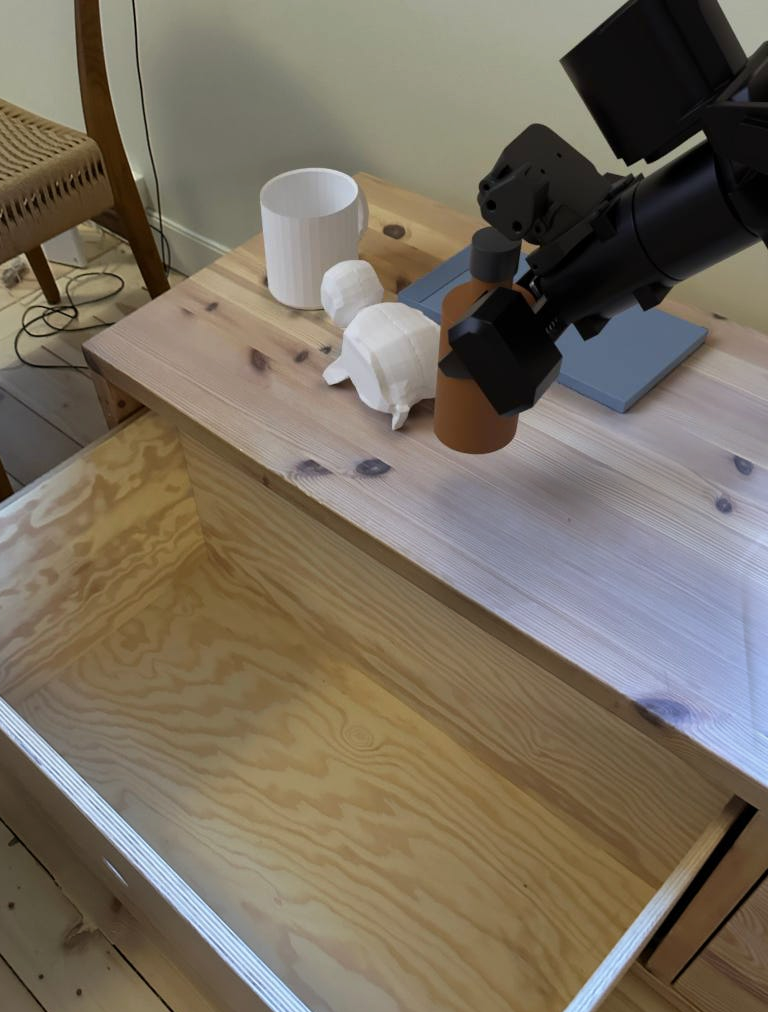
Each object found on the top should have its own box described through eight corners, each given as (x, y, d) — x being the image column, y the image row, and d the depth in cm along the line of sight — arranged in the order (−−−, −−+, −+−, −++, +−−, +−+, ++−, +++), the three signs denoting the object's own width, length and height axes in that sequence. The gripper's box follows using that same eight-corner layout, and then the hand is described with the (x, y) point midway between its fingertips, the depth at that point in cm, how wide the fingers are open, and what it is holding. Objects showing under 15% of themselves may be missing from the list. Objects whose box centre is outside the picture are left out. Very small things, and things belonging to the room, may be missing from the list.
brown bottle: (519, 404, 67) (550, 214, 55) (513, 458, 63) (544, 269, 52) (438, 397, 68) (452, 210, 56) (428, 450, 65) (440, 263, 53)
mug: (300, 322, 86) (294, 229, 79) (251, 281, 91) (241, 189, 83) (400, 277, 89) (404, 184, 82) (348, 239, 94) (347, 148, 87)
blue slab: (705, 341, 80) (709, 328, 79) (622, 414, 75) (626, 401, 74) (481, 246, 92) (483, 234, 91) (397, 304, 87) (397, 291, 86)
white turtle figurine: (451, 418, 81) (365, 291, 84) (481, 362, 73) (385, 224, 76) (372, 455, 79) (287, 324, 82) (394, 402, 71) (299, 258, 74)
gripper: (659, 24, 50) (465, 179, 63) (499, 174, 41) (315, 316, 54) (755, 198, 53) (551, 311, 66) (624, 370, 44) (421, 460, 58)
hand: (465, 343), depth 61 cm, fingers closed on brown bottle, 6 cm apart
